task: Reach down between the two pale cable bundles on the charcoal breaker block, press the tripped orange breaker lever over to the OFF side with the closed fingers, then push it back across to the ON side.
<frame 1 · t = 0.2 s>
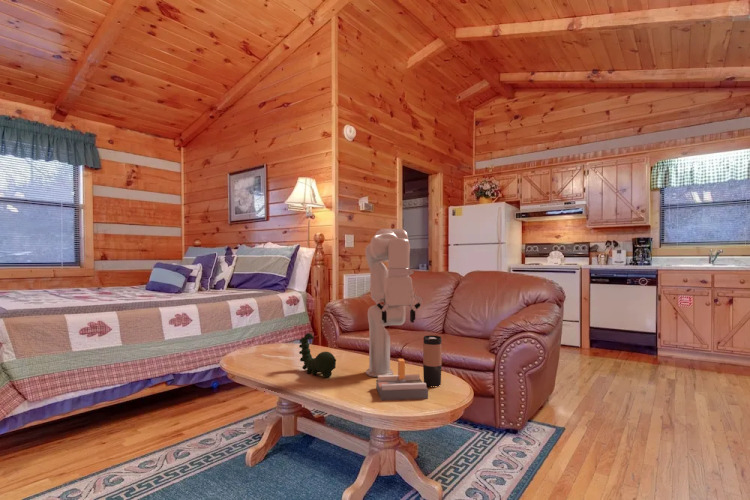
hand: (398, 322, 141), 31 cm above the table, tool pointing down, fingers open, 9 cm apart
travel mug: (432, 385, 169), on the table
toy figurine: (318, 374, 183), on the table
breaker block: (401, 393, 158), on the table
breaker lever: (401, 371, 158), point 8 cm above the table, hinge at 0.0°
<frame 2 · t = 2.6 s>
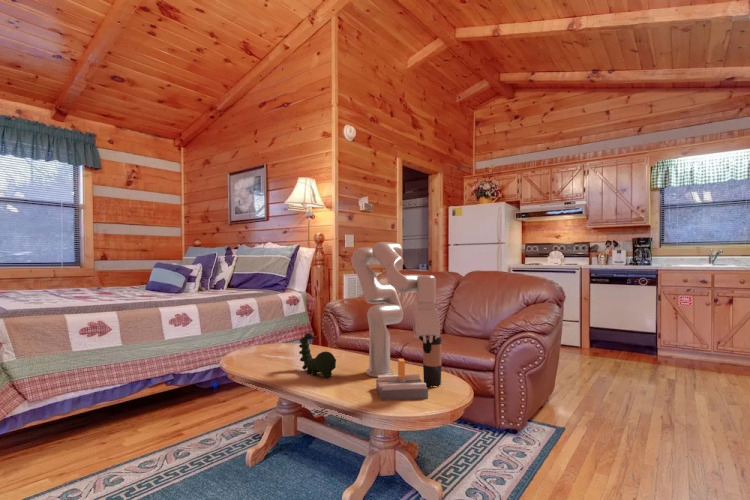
hand: (427, 352, 159), 16 cm above the table, tool pointing down, fingers closed
nothing on the table moved.
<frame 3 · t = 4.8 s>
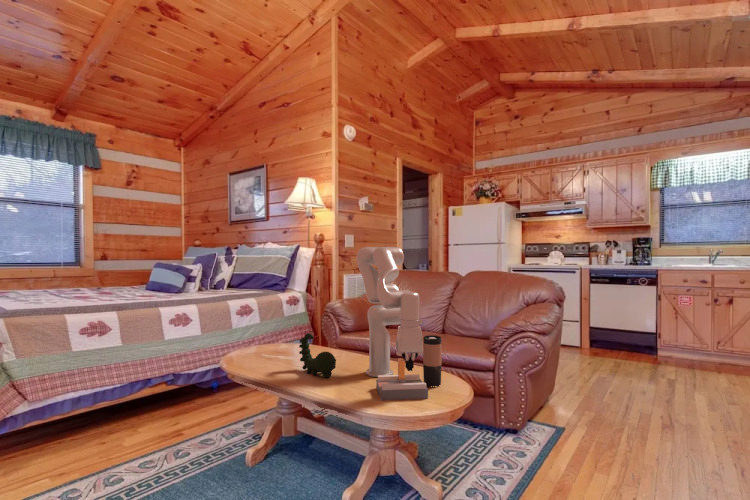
hand: (409, 369, 158), 9 cm above the table, tool pointing down, fingers closed
breaker lever: (401, 371, 158), point 8 cm above the table, hinge at -0.6°, touching gripper
everything else where it was.
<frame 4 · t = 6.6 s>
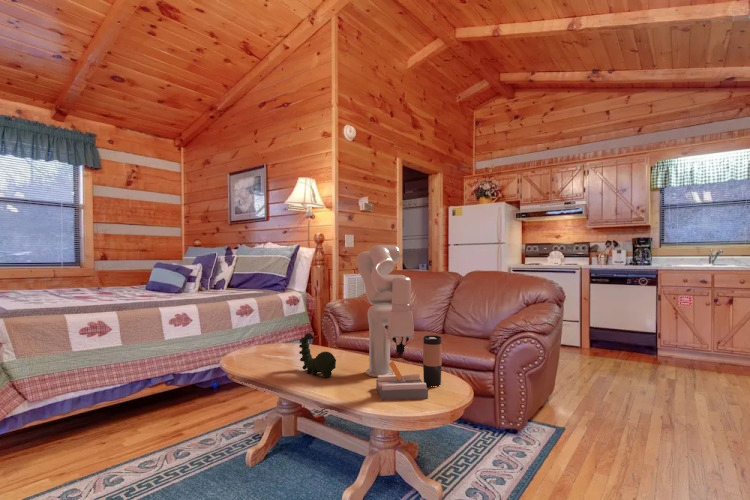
hand: (400, 353, 159), 15 cm above the table, tool pointing down, fingers closed
breaker lever: (397, 373, 158), point 8 cm above the table, hinge at -30.3°
everything else where it was.
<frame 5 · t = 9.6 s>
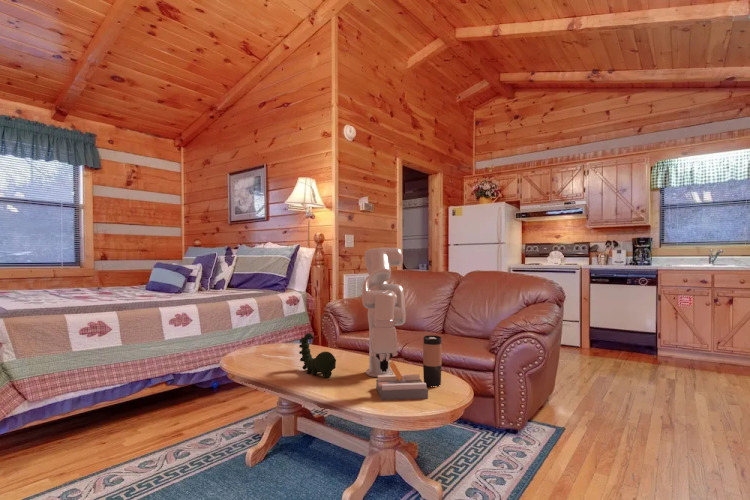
hand: (384, 370, 157), 9 cm above the table, tool pointing down, fingers closed
breaker lever: (397, 373, 158), point 8 cm above the table, hinge at -30.5°, touching gripper
everything else where it was.
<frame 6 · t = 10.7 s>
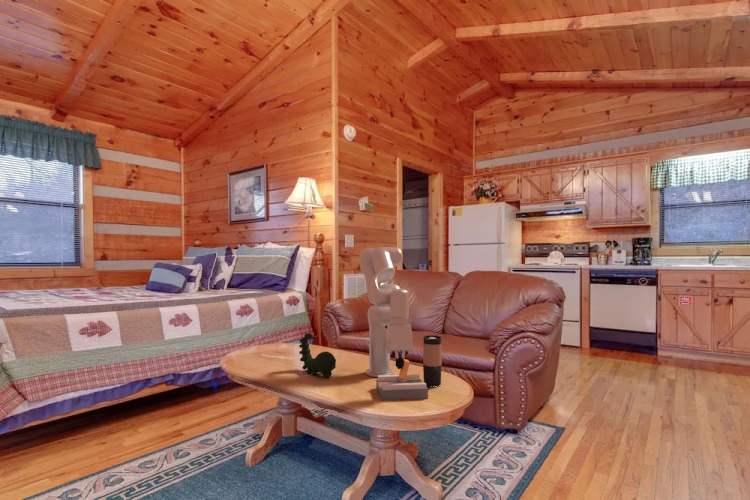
hand: (399, 368, 157), 10 cm above the table, tool pointing down, fingers closed
breaker lever: (403, 372, 158), point 8 cm above the table, hinge at 14.9°, touching gripper
everything else where it was.
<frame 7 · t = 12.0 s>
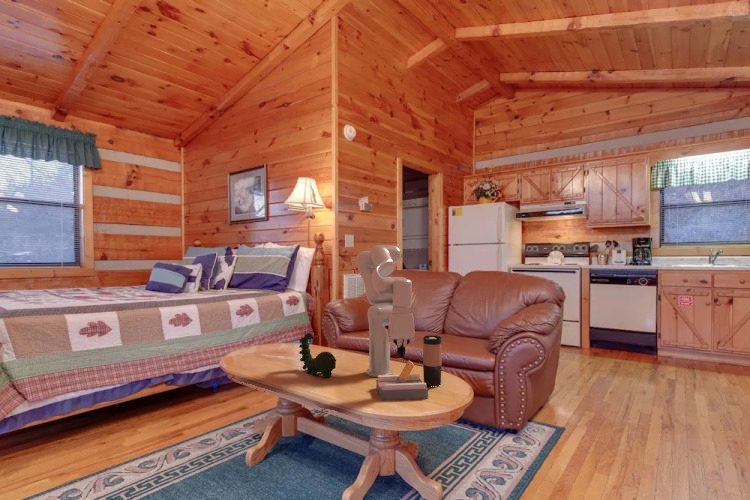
hand: (401, 356, 159), 14 cm above the table, tool pointing down, fingers closed
breaker lever: (405, 372, 158), point 8 cm above the table, hinge at 30.0°
everything else where it was.
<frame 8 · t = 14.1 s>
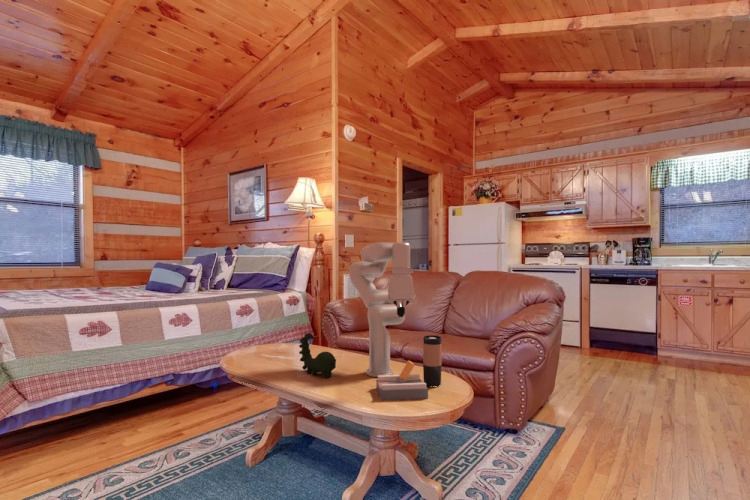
hand: (400, 316, 165), 29 cm above the table, tool pointing down, fingers closed
nothing on the table moved.
at the end: breaker lever at +30° (first picture: +0°) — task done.
